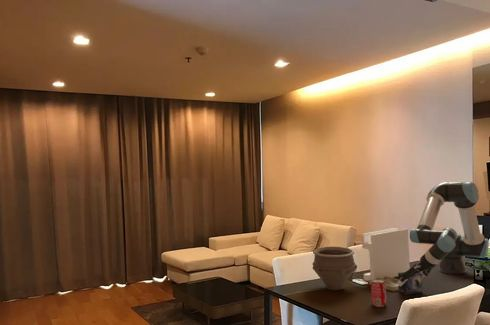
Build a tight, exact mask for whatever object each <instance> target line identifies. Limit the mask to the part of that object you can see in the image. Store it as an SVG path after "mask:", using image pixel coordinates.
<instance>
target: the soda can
mask: <svg viewBox="0 0 490 325" xmlns="http://www.w3.org/2000/svg"><path fill="white" fill-rule="evenodd" d="M370 292H371V293H370V294H371V296H370V297H371V304H372V305H373V306H374V307H377V308H384V307H385V306H386V305H387V301H388V299H387V290H386V285H385V283H384V280H380V279H375V280H372V283H371V285H370Z"/></svg>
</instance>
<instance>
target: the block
mask: <svg viewBox="0 0 490 325" xmlns="http://www.w3.org/2000/svg"><path fill="white" fill-rule="evenodd" d="M361 245H362V246H361V247H362V249H366V250H368V251H369V266H370V268H369V269H370V272H366V273H363V281H366V282H369V280H371V279H376V278H380V277H385V276H387V277H390V278H396V277H398V273H401V272H406V271H408V270H409V269H410V268H411V267H410V265H411V264H410V242H409V229H408V228H402V229H399V227H393V228H387V229H382V230H376V231H370V232H365V233H364V232H363V233H361Z"/></svg>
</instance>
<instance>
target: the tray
mask: <svg viewBox="0 0 490 325" xmlns="http://www.w3.org/2000/svg"><path fill="white" fill-rule="evenodd" d="M376 279H380V280H384V283H385V285H386V291H390V292H393V293H394V292H399V284H398V283H397V282H398V281H399V280H398V278H395V277H393V278H390V277H387V276H385V277H380V278H376ZM372 280H375V279H371V280H369V281H368V285H369V286H371V283H372Z"/></svg>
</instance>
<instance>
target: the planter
mask: <svg viewBox="0 0 490 325" xmlns="http://www.w3.org/2000/svg"><path fill="white" fill-rule="evenodd" d="M312 253H313V255H314V259H313V262H312V264H311V265H312V270H313V271H314V272H315V274H316V275H317V276H318V277H319V279H320V280H321V281H322V283H323V284H324V286H325V287H326V289H327V290H329V291H341V290H343V289H344V287H345V285H346V284H347V282H348V280H349V279H350V277H351V276H352V275H353V274H354V273H355V271H356V270H357V268H358V265H357V264H356V263H355V259H354V254H355V252H354V250H352V249H350V248H347V247H344V246H343V247H342V246H324V247H318V248H316V249H314V250H313V251H312Z"/></svg>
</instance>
